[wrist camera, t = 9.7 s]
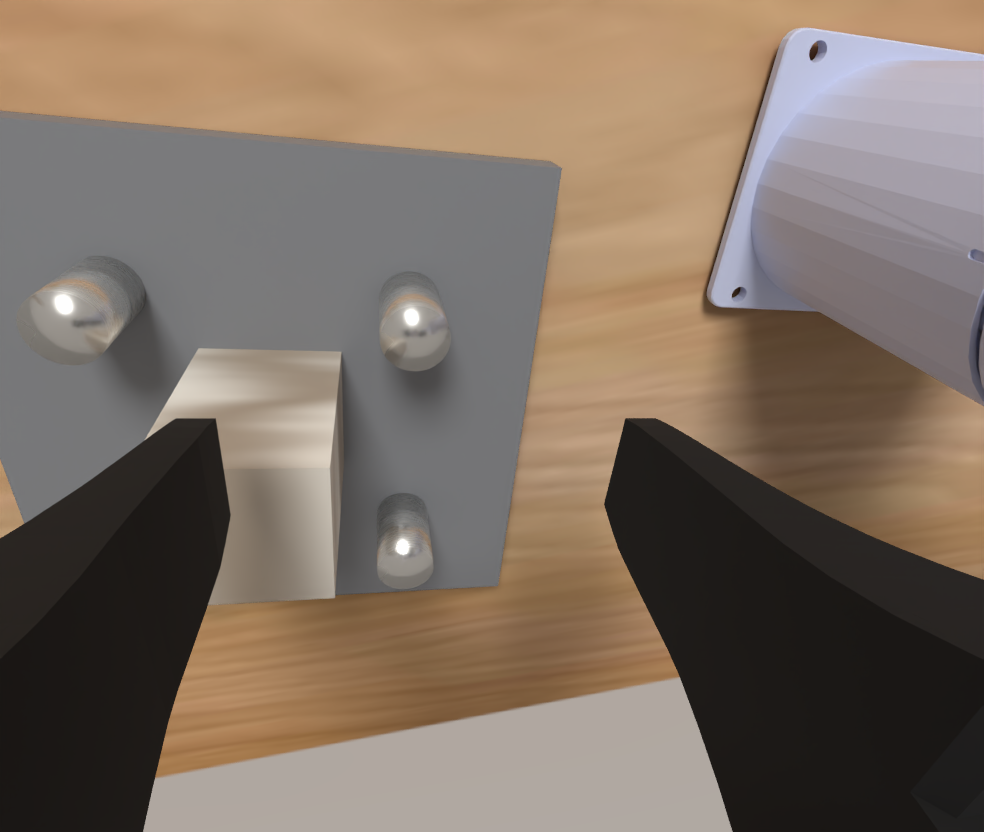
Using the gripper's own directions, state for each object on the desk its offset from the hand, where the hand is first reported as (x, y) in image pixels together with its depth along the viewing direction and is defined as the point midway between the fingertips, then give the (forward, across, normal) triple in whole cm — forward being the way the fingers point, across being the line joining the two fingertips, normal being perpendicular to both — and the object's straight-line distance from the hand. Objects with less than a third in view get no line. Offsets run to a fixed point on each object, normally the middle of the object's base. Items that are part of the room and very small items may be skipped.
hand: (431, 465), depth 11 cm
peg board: (+9, +4, +4) cm, 11 cm away
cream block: (+8, +4, +4) cm, 10 cm away
